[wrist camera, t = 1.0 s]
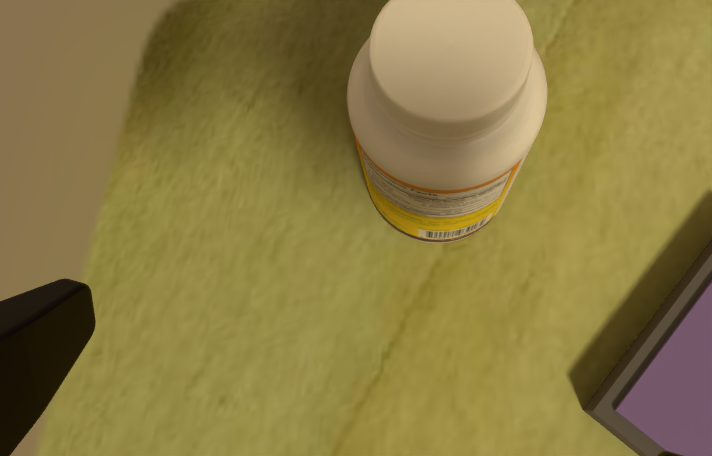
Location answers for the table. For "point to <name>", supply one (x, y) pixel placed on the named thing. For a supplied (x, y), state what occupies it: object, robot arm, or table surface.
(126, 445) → the table surface
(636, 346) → the ink pad
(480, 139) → the supplement bottle
